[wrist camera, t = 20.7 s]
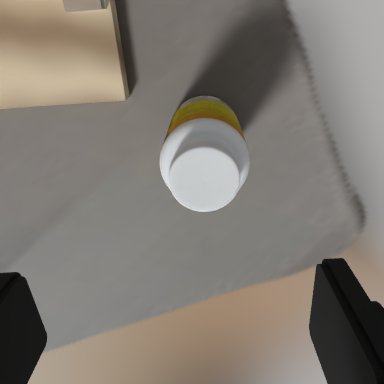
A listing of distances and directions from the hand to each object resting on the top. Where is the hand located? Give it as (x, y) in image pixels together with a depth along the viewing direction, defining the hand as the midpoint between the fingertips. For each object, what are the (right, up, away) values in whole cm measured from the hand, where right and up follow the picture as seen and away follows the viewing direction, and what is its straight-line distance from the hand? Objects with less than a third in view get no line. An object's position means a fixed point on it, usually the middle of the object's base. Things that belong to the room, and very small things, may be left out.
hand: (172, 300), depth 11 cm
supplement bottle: (+2, +9, +16) cm, 19 cm away
